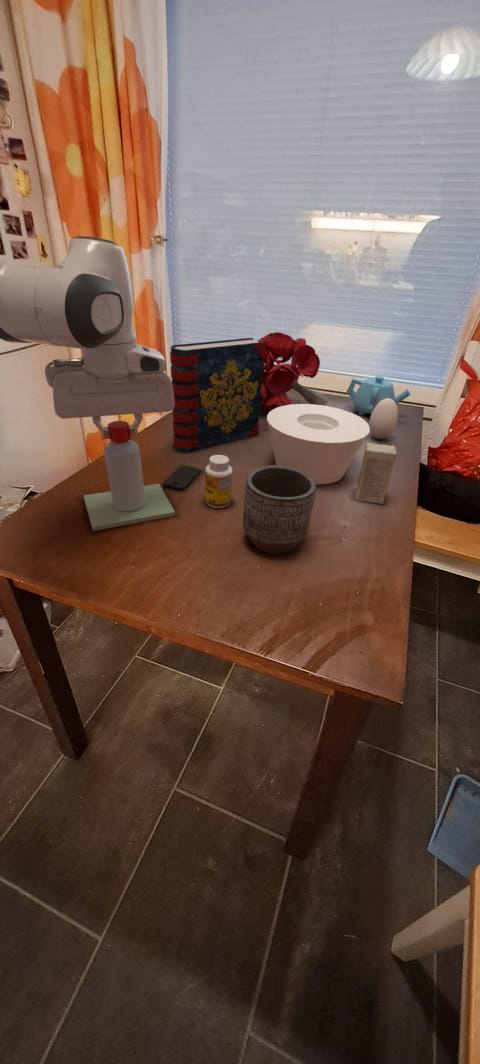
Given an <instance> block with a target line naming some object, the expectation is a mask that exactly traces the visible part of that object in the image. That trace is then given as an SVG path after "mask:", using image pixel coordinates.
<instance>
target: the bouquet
mask: <svg viewBox="0 0 480 1064" xmlns="http://www.w3.org/2000/svg"><path fill="white" fill-rule="evenodd" d="M256 341H257V342H265V344H266V348H265V356H264V365H263V377H262V389H261V400H260V406H262V409H263V410H265V411H269V412H270V411H272V410H273V409H275V408H277V407H281V406H285V405H292V402H291V400H290V398H289V396H288V395H287V393H288V392H289V391H291V390H294V391H296V392H297V393H298V394H300V395H301V397H302V398H303V399H304V400H305V401H306V403H307V404H315V405H323V406H327V404H328V401H329V398H328V397H327V396H326V395H324V394H323V393H320V392H318V391H315V390H312V389H310V388H307V387H305V386H303V385H302V384H300V382H298V381H299V378H300V377H302V378H304V377H306V378H309V379H314V378H316V376H317V374H318V372H319V370H320V365H321V360H320V357H319V355H318V354H317V353H316V349H315V348H314V347H313V346H311V345H309V344H307V340H306V338H303V337H299V338H298V337H297V339H293V337H292V336H291V335H288V334H285V333H284V332H281V331H275V332H269V333H268V334H266V335H264V336H262V337H261V338H260V339H257V340H256ZM289 361H290V363H288V362H289ZM275 363H276V364H275Z"/></svg>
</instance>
